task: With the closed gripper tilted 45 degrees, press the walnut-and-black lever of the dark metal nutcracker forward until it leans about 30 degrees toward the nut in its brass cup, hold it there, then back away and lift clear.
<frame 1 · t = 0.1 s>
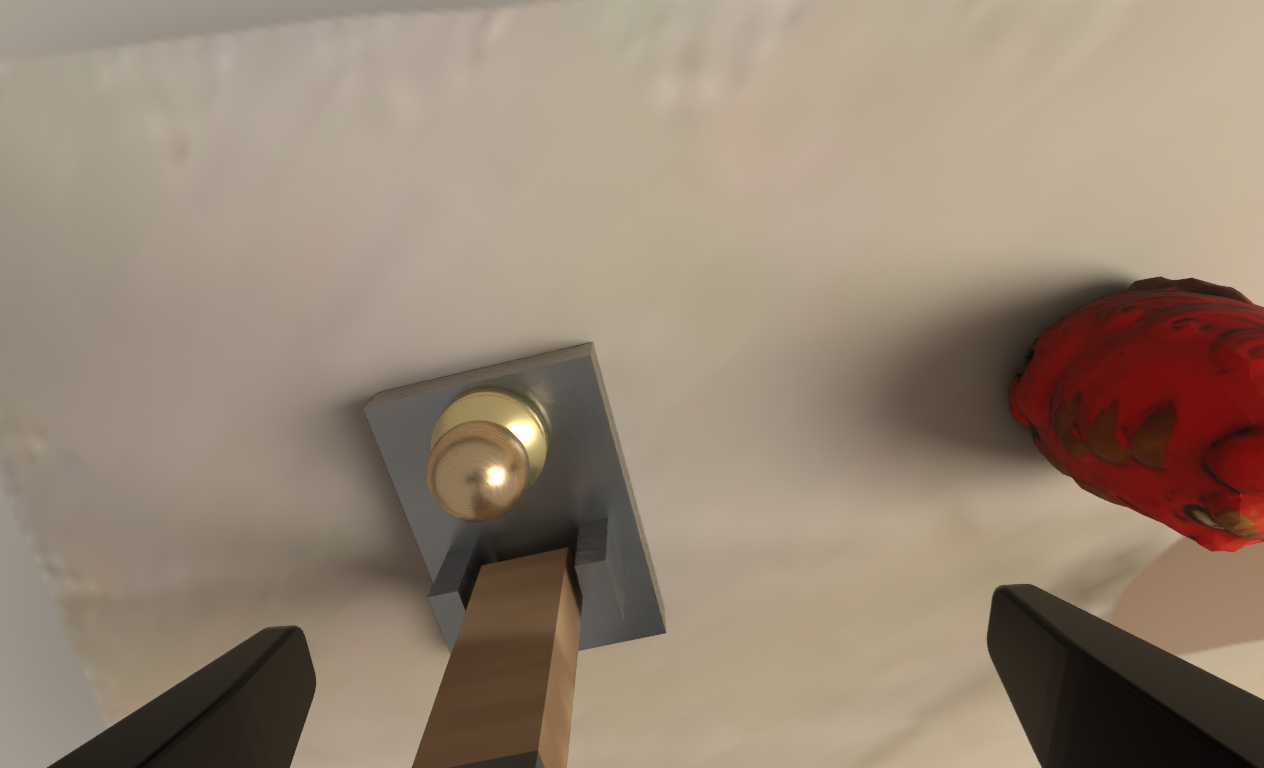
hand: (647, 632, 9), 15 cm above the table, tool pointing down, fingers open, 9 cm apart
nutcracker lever: (501, 727, 17), point 9 cm above the table, hinge at 0.0°
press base: (541, 540, 25), on the table
decorative doll: (1100, 366, 23), on the table
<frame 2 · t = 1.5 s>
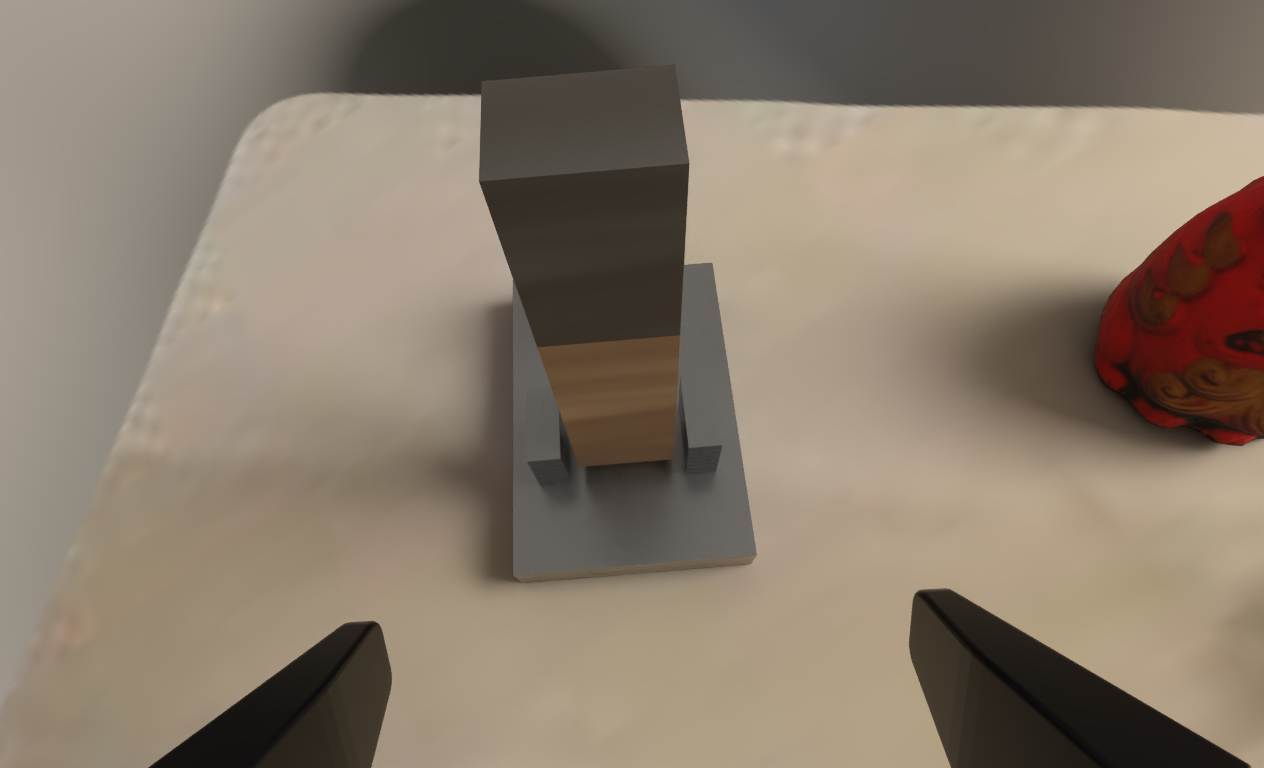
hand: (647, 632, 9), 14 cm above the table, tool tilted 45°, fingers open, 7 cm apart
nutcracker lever: (611, 343, 16), point 9 cm above the table, hinge at 0.0°
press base: (627, 458, 24), on the table
decorative doll: (1179, 364, 25), on the table
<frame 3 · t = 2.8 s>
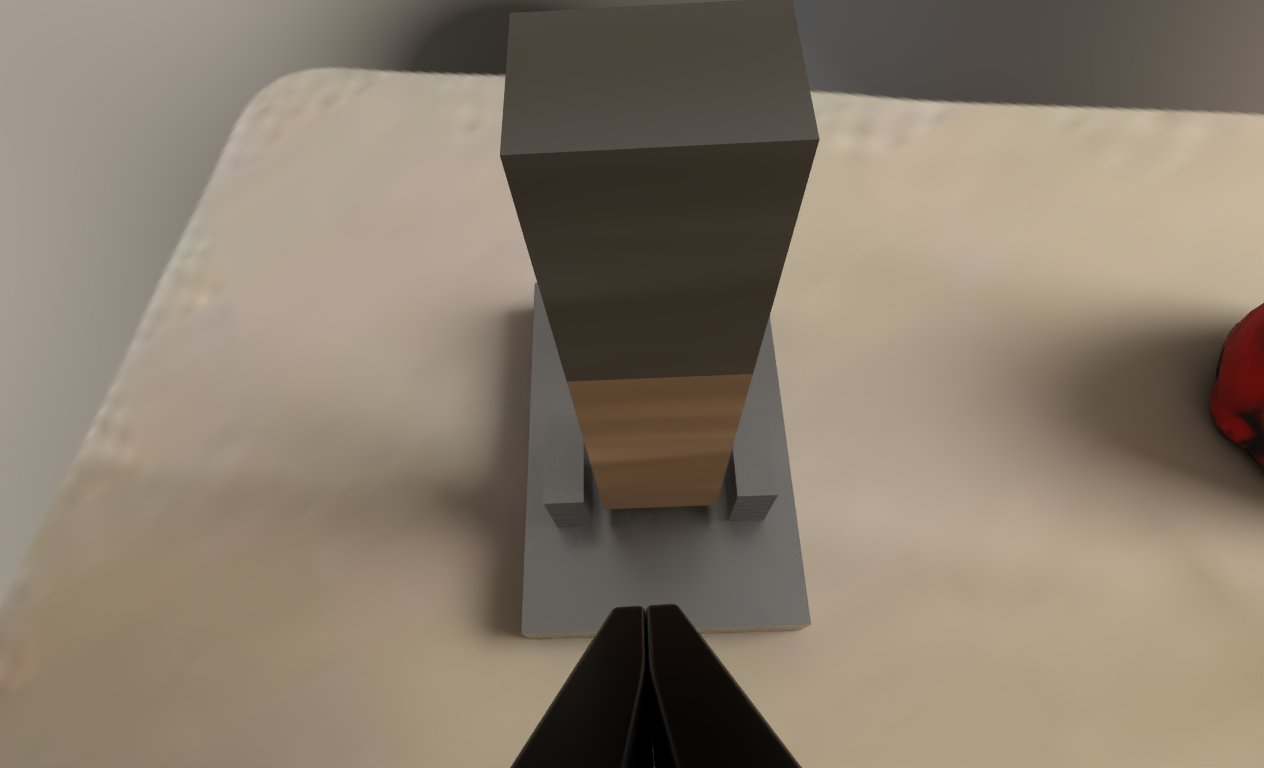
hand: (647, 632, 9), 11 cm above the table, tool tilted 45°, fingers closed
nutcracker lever: (657, 373, 13), point 9 cm above the table, hinge at 0.0°
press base: (658, 496, 21), on the table
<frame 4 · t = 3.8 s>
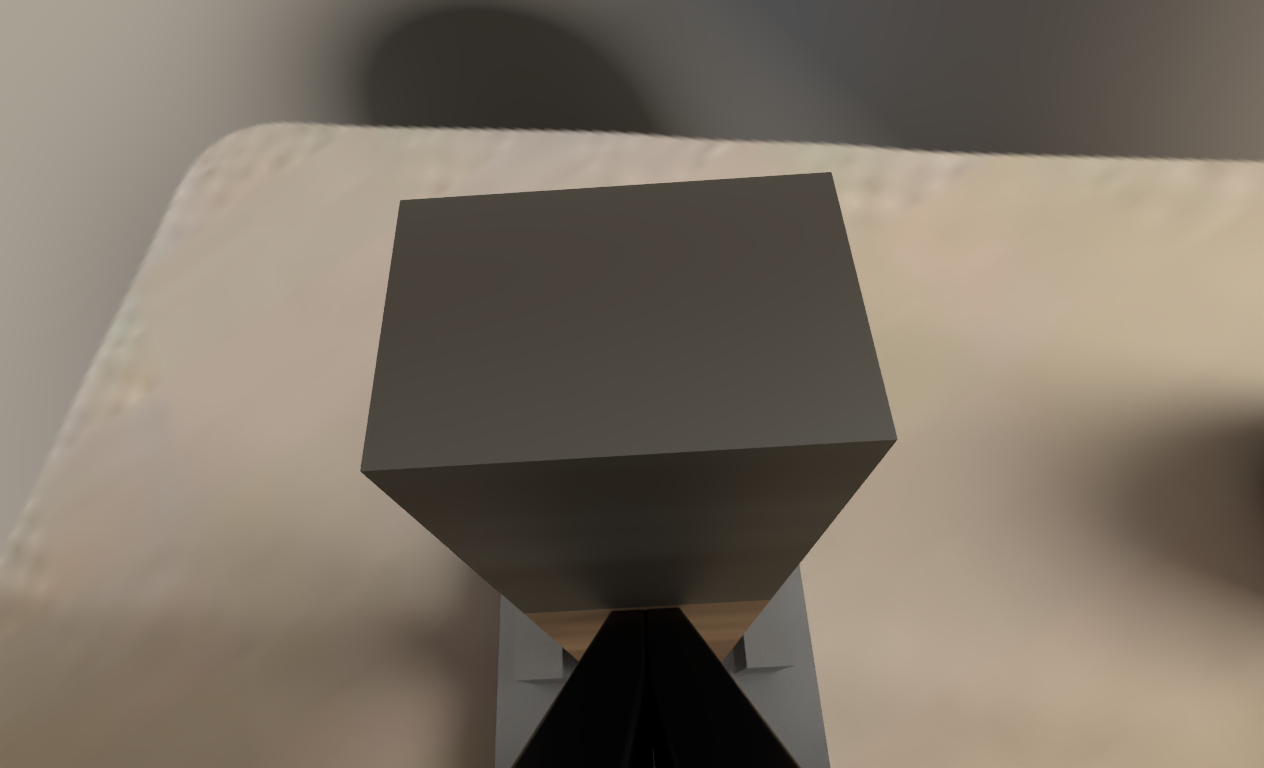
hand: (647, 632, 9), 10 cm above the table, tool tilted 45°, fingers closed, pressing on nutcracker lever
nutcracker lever: (646, 559, 10), point 9 cm above the table, hinge at 2.0°, touching gripper
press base: (653, 631, 18), on the table
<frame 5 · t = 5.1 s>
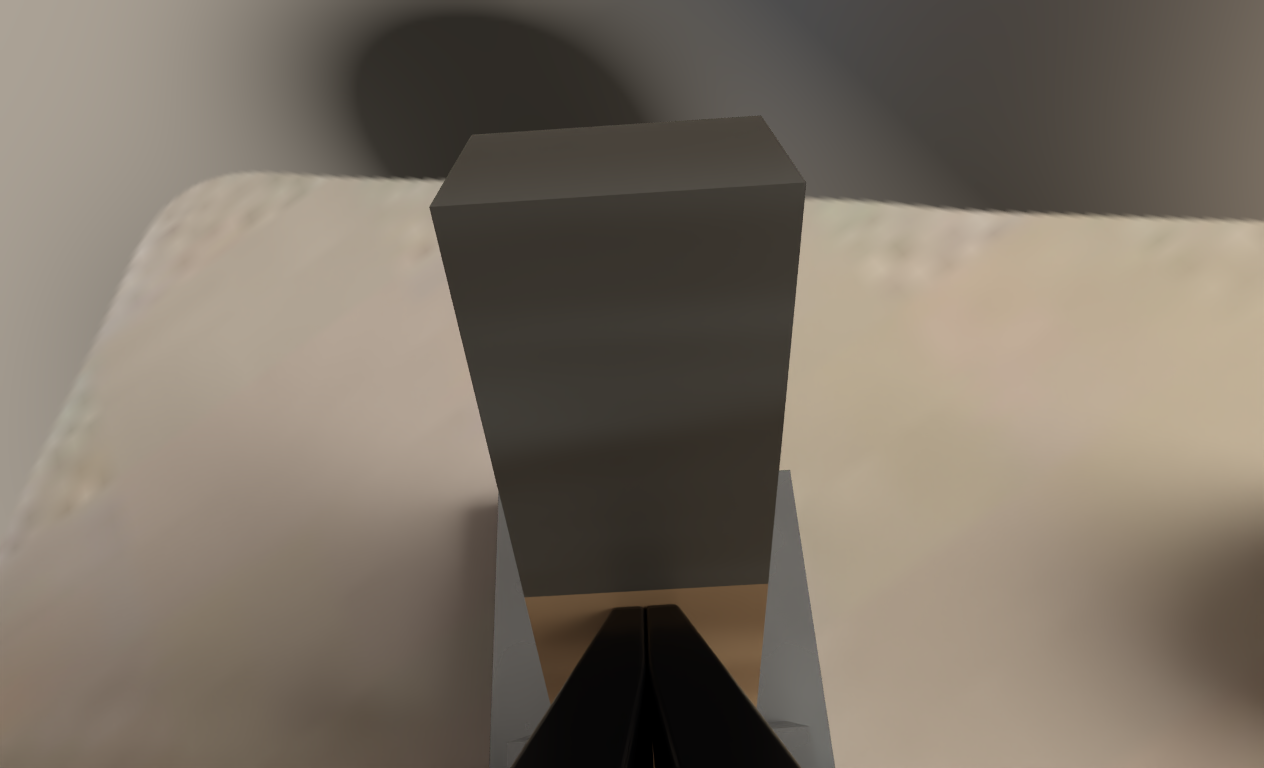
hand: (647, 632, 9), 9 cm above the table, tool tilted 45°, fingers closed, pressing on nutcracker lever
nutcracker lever: (649, 614, 10), point 8 cm above the table, hinge at 29.7°, touching gripper
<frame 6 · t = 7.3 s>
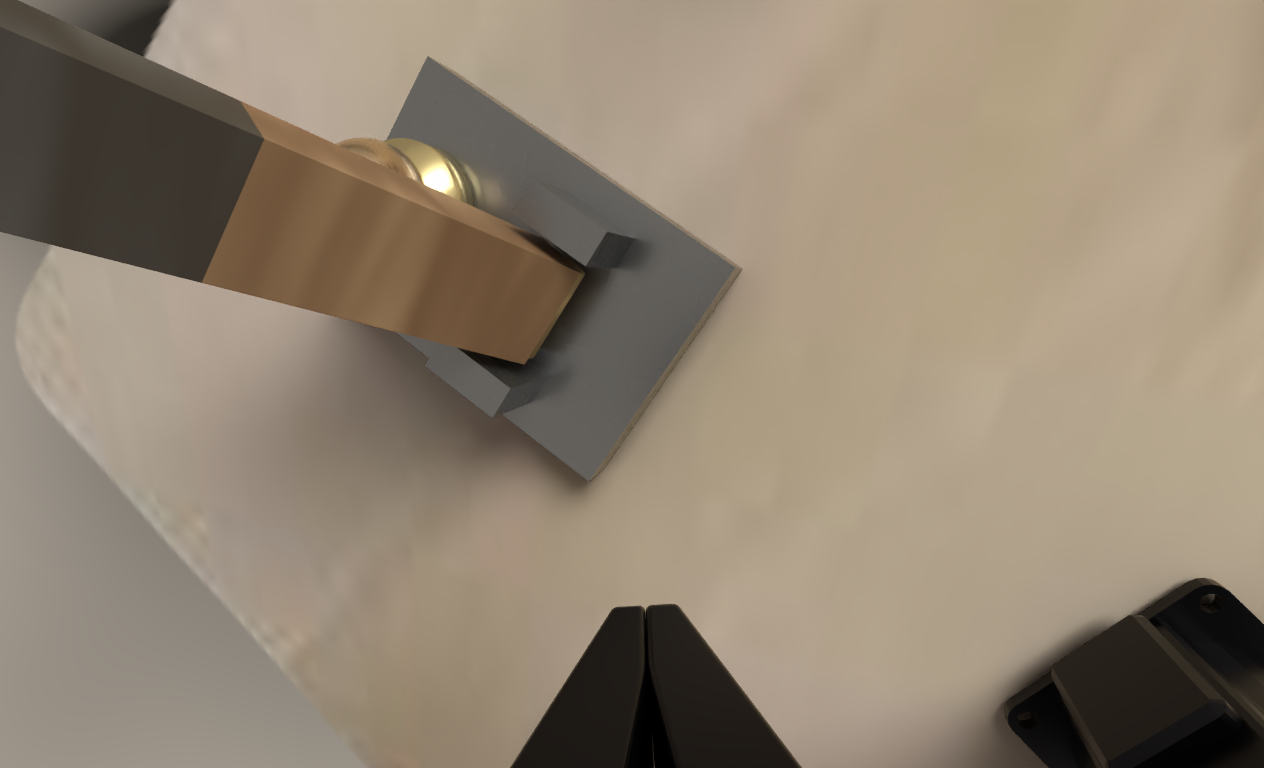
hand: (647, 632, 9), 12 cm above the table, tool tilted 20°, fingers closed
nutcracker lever: (319, 225, 14), point 8 cm above the table, hinge at 29.8°
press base: (567, 299, 21), on the table
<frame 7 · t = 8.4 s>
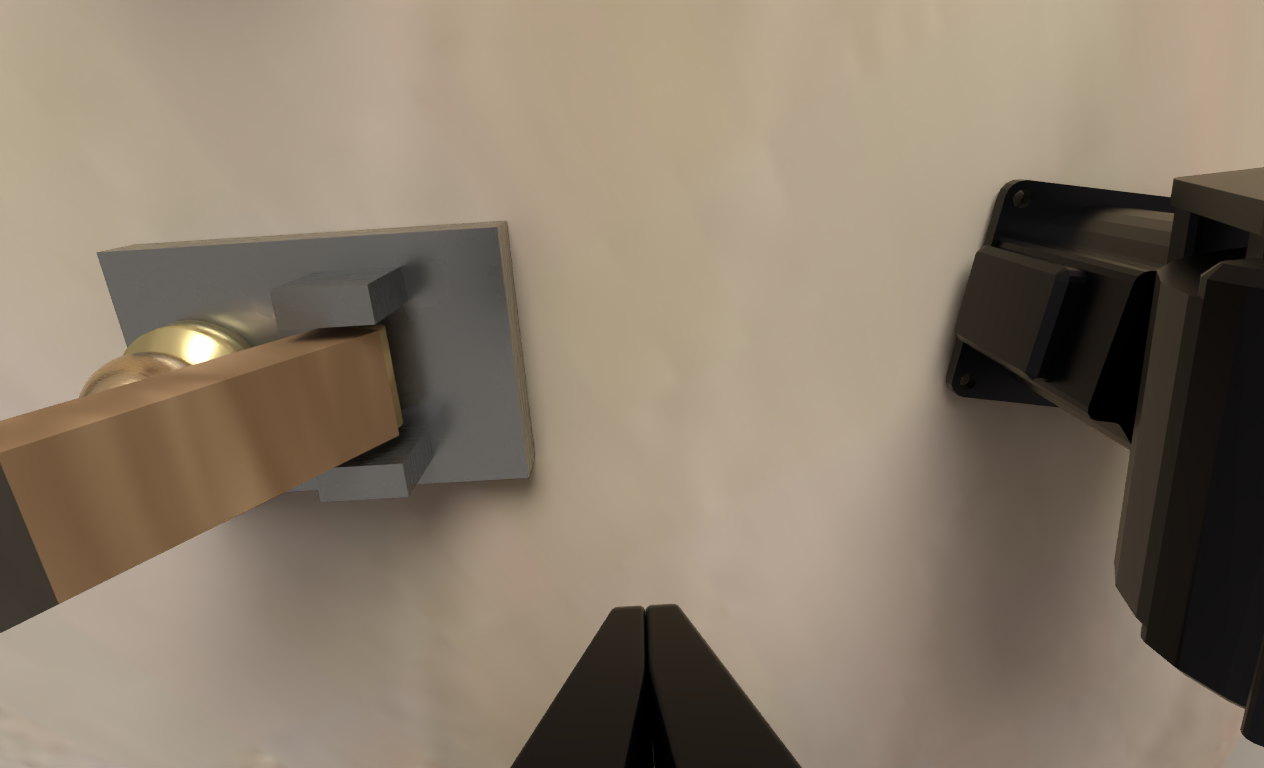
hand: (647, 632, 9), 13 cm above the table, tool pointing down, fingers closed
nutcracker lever: (120, 474, 14), point 8 cm above the table, hinge at 29.8°
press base: (393, 353, 21), on the table
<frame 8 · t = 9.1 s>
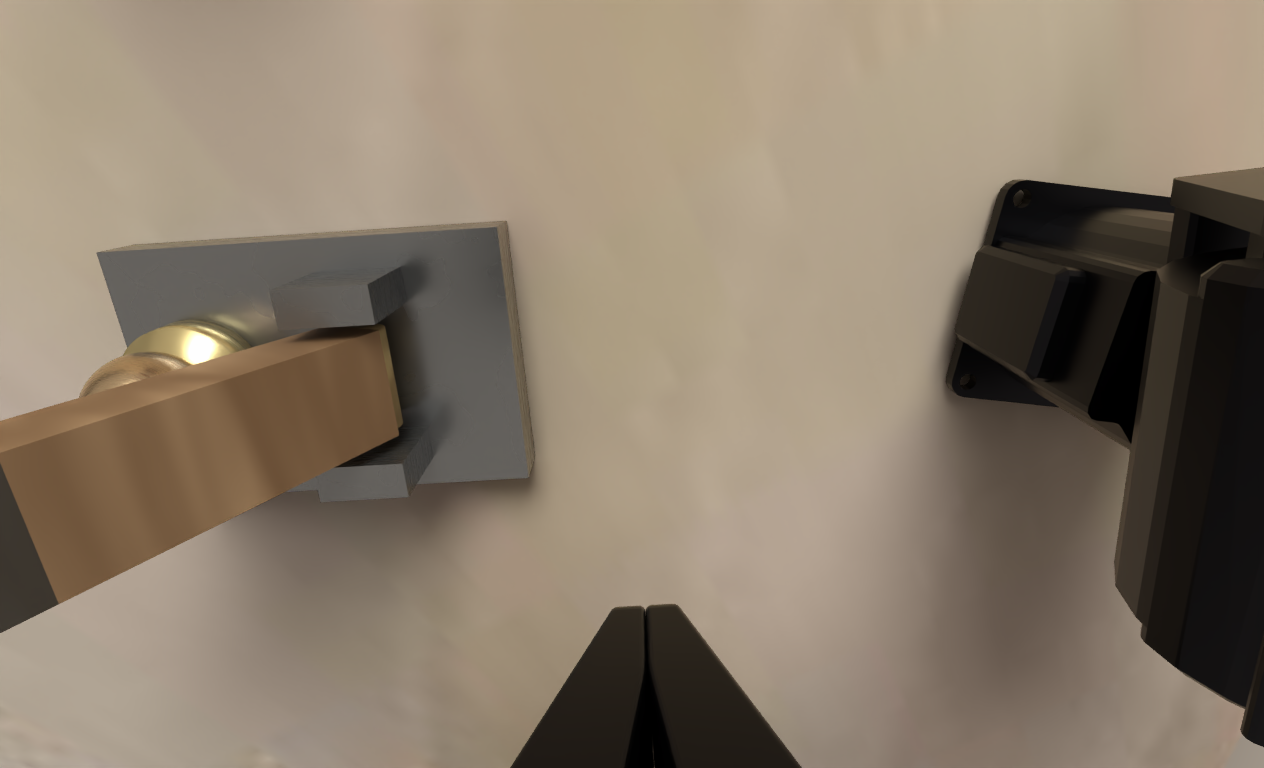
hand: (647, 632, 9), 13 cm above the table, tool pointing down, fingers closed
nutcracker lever: (120, 474, 14), point 8 cm above the table, hinge at 29.8°
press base: (393, 353, 21), on the table
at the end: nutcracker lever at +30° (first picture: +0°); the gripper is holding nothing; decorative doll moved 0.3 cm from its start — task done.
